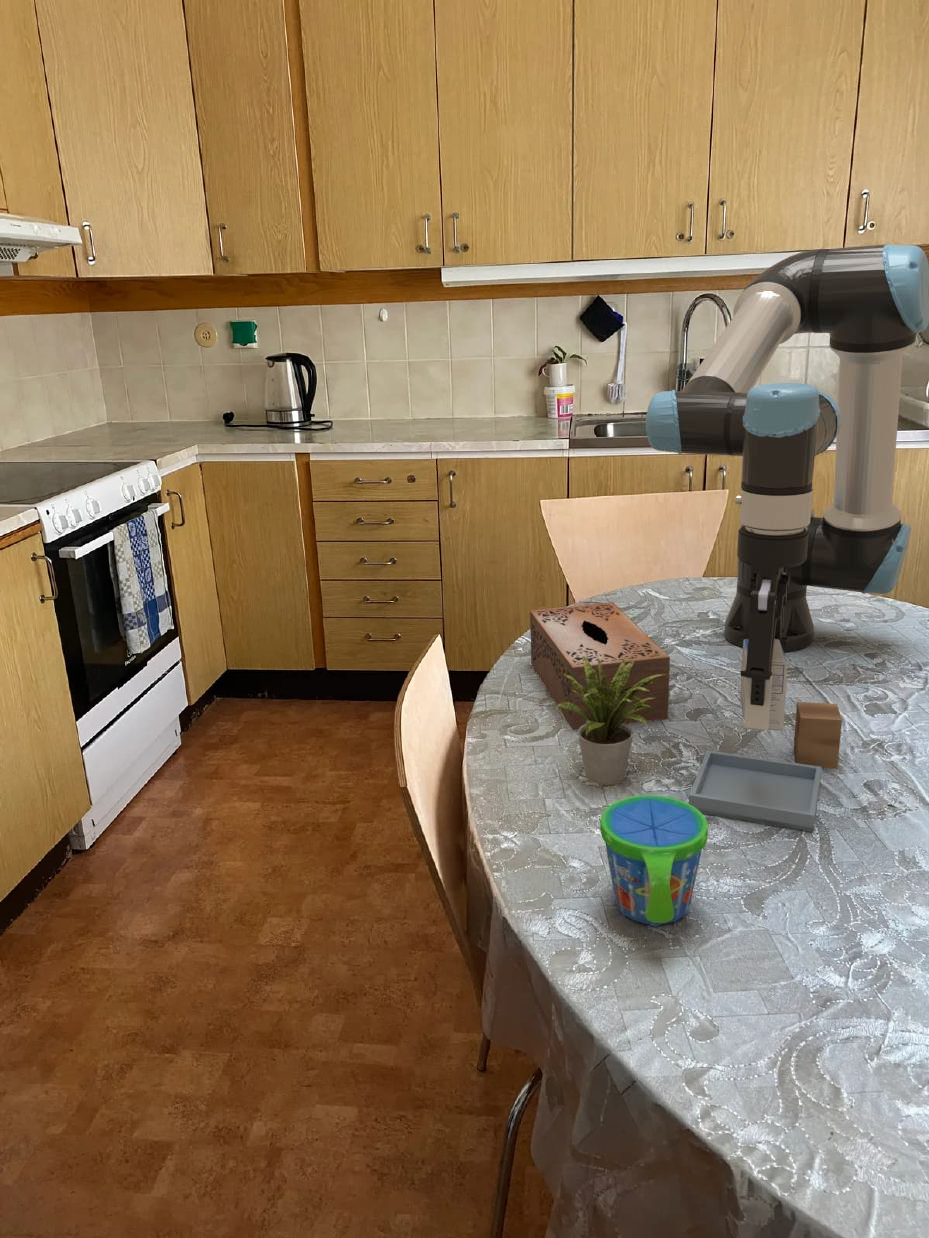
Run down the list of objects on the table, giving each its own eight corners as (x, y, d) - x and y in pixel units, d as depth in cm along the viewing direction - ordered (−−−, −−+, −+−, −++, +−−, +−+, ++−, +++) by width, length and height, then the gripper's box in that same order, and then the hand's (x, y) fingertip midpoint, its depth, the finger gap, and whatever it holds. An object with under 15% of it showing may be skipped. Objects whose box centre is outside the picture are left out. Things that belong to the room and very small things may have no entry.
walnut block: (793, 748, 128) (797, 701, 125) (832, 751, 126) (836, 703, 124) (796, 766, 123) (800, 717, 121) (837, 768, 122) (842, 720, 120)
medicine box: (783, 732, 109) (788, 662, 106) (743, 730, 109) (747, 661, 107) (776, 703, 116) (781, 638, 113) (738, 702, 117) (742, 637, 114)
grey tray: (706, 765, 124) (707, 750, 124) (820, 782, 119) (821, 766, 118) (688, 811, 114) (689, 795, 113) (812, 832, 108) (814, 815, 108)
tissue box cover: (531, 665, 160) (529, 610, 157) (612, 656, 162) (612, 602, 159) (573, 731, 136) (572, 667, 133) (668, 719, 138) (669, 657, 135)
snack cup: (605, 858, 105) (605, 778, 102) (702, 866, 103) (705, 784, 100) (594, 950, 91) (594, 860, 88) (706, 961, 89) (710, 870, 85)
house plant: (651, 816, 113) (654, 692, 108) (541, 799, 118) (538, 680, 112) (669, 761, 126) (673, 647, 120) (569, 748, 130) (567, 639, 125)
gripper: (751, 504, 115) (741, 674, 123) (724, 549, 97) (714, 745, 105) (816, 507, 113) (802, 681, 120) (800, 553, 94) (785, 755, 102)
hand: (761, 710), depth 112 cm, fingers closed on medicine box, 8 cm apart
